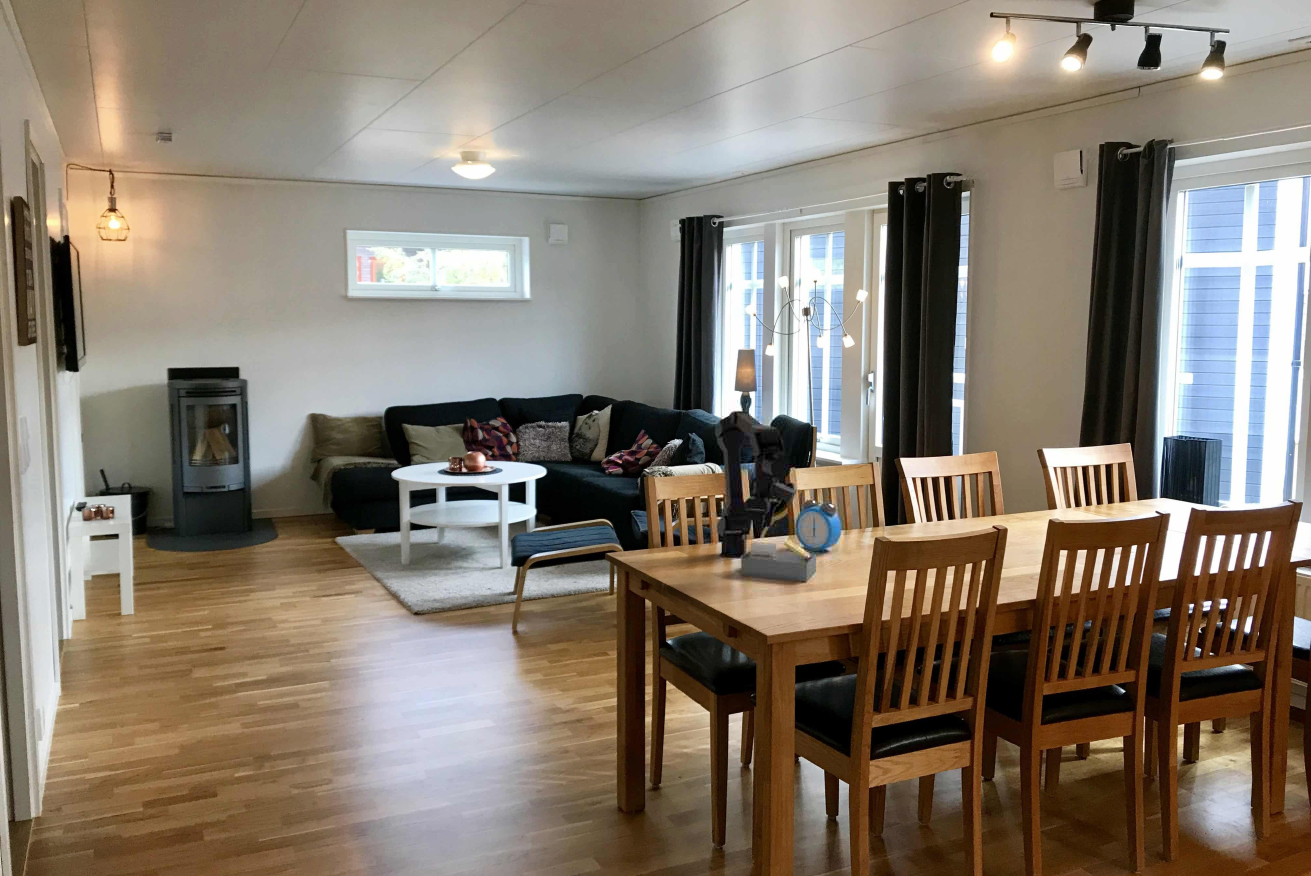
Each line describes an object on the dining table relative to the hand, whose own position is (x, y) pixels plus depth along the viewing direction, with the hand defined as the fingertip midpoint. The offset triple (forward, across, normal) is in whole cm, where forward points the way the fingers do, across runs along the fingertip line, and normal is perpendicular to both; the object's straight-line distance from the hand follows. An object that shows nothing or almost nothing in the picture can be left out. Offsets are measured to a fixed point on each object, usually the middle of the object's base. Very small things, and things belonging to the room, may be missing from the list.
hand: (763, 530), depth 284 cm
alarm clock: (+12, +33, -8) cm, 36 cm away
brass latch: (+5, 0, -9) cm, 11 cm away
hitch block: (+12, 0, -4) cm, 13 cm away
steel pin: (+11, 0, 0) cm, 11 cm away
